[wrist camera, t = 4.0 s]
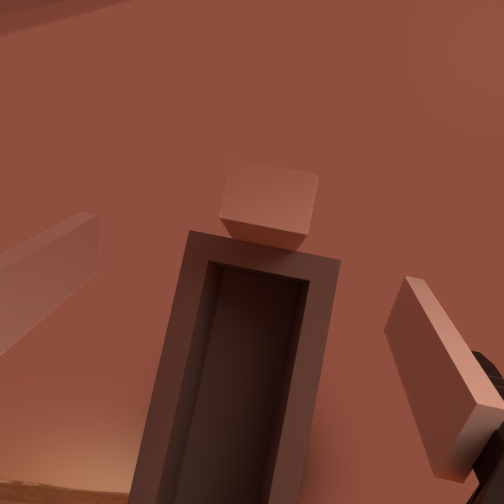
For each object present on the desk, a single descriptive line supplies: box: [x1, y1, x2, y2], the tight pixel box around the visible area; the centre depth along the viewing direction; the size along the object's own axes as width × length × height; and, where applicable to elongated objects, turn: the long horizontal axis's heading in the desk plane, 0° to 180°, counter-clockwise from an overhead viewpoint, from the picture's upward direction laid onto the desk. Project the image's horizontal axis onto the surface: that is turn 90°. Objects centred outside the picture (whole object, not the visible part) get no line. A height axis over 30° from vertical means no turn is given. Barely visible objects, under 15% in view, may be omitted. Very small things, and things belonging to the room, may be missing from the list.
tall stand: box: [128, 230, 341, 504], centre depth 32 cm, size 12×12×30 cm
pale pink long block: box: [219, 158, 319, 251], centre depth 29 cm, size 5×19×4 cm, turn 177°
